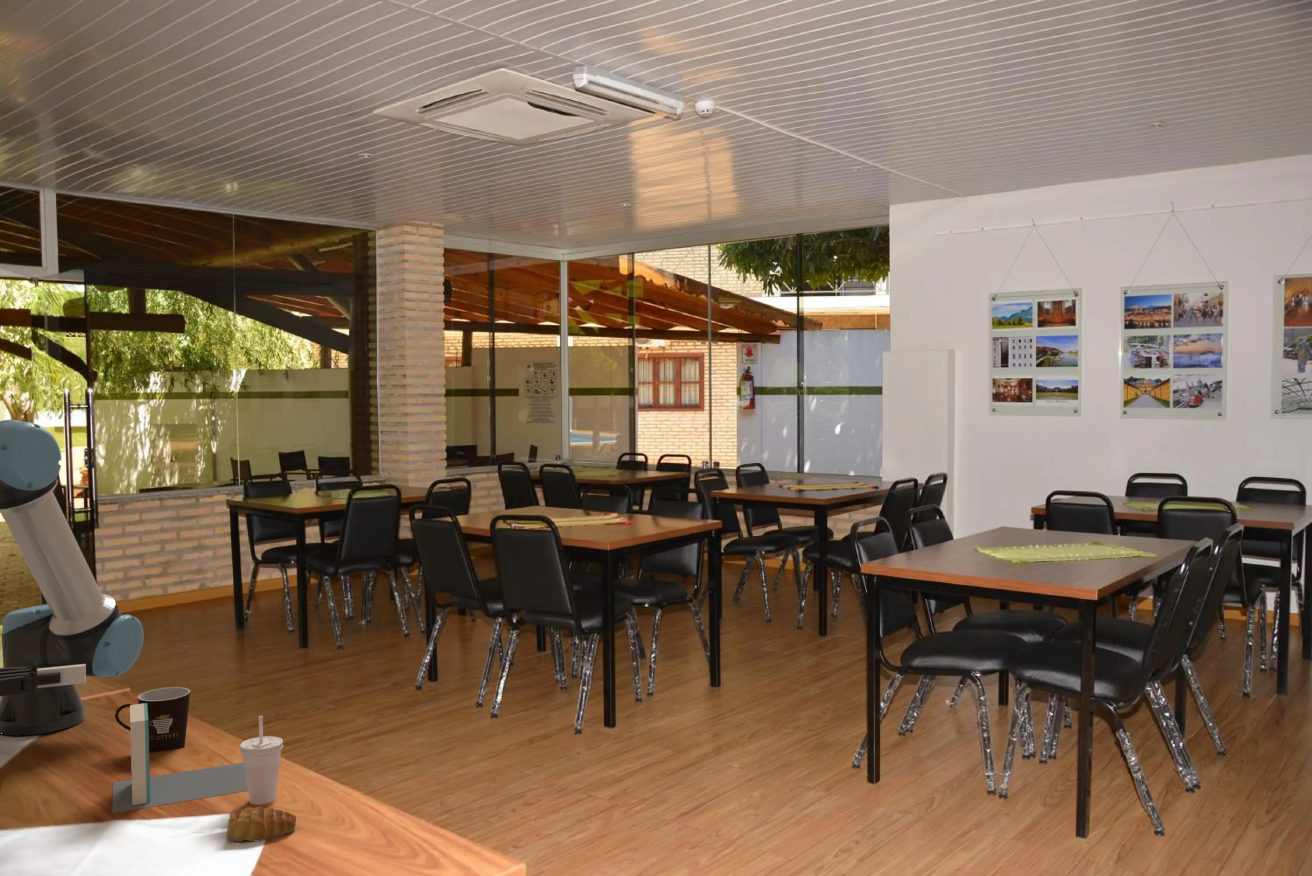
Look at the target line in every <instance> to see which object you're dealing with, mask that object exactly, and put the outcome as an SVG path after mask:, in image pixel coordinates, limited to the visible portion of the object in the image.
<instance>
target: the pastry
mask: <svg viewBox="0 0 1312 876" xmlns="http://www.w3.org/2000/svg"><path fill="white" fill-rule="evenodd" d="M296 821H297V817H296V815H294V814H292V813H291V812H288V811H286V810H285V811H283V810H281V809H275V808H274V807H273V808H272V807H271V808H269V807H263V806H262V805H259V806H257V807H251V806H246V807H244V808H243V809H239V808H238V809H237V808H236V809H235V808H234V809H232V810H231V812H230V814H229V819H228V824H227V829H226V835H225V838H227V839H228V840H230V841H232V840H233V842H234V841H240V842H239V843H242V842H243V841H249V842H256V841H255V840H259V841H261V839H265V840H268V839H267V838H270V839H274V838H275V839H276V838H280V837H283V836H284V835H286V834H287V835H288V834H290V833H292V832H293V831H294V830H295V828H296V824H297V822H296ZM279 836H280V837H279Z"/></svg>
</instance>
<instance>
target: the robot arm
mask: <svg viewBox="0 0 1312 876" xmlns="http://www.w3.org/2000/svg"><path fill="white" fill-rule="evenodd" d="M60 461H62V452H61V448H60V445H59V444H58V441H57V440H56V438H55V437H54V435H53V434H52V433H51V432H50V431H49V430H47V429H46V428H45V427H43V426H41V424H36V423H34V422H31V421H22V420H17V419H5V420H0V514H1V516H2V518H3V520H4V521H5V524H6V526H7V527H8V530H9V532H10V533H11V535H12V537H13V540H14V542H16V546H17V547H18V549H19V551H20V553H21V555H22V558H23V559H24V561H25V562H26V564H27V566H28V569H29V570H30V572H31V574H32V576H33V578H34V580H35V582H36V584H37V586H38V588H39V589H40V592H41V594H42V595H43V597H44V599H45V601H46V604H41V605H36V606H35V605H34V606H29V607H24V608H20V609H16V610H13V611H10V612H8V613H7V614H5V616H4V617H3V620H2V632H1V633H0V634H1V646H2V647H1V648H2V649H1V650H2V665H3V666H2V667H0V697H1V698H0V733H2V734H6V735H5V736H8V735H26V736H33V735H35V734H36V735H43V734H47V733H52V732H58V731H61V730H65V729H68V728H71V727H74V726H76V725H78V724H80V723H81V722H83V721H84V720H85V717H86V716H85V705H84V702H83V701H82V698H81V696H80V693H79V690H78V687H77V686H76V685H80V684H86V682H87V680H86V679H87V678H86V676H87V677H97V678H104V677H113V678H114V677H119V676H120V675H123V674H125V673H126V672H127V671H129V670H130V669H131V668H132V666H133V665H134V664H135V663H136V662H137V660H138V658H139V656H140V654H141V651H142V647H143V644H144V628H143V625H142V622H141V621H140V620H139V619H138V618H137V617H135V616H134V615H133V616H132V615H131V614H127V613H126V614H123V613H122V612H121V610H120V609H119V607H118V604H117V602H116V600H115V599H114V598H113V597H112V596H111V595H109V594H105V593H102V591H101V589H100V587H99V586H98V584H97V581H96V579H95V577H94V575H93V573H92V570H91V569H90V566H89V564H88V563H87V560H86V559H85V556H84V554H83V552H82V550H81V548H80V546H79V543H78V541H77V539H76V536H74V533H73V531H72V529H71V527H70V525H69V523H68V520H67V519H66V517H65V514H64V513H63V510H62V508H61V506H60V504H59V502H58V499H57V498H56V496H55V493H54V491H55V490H56V487H57V486H58V482H59V480H58V476H59V473H60V471H61V467H62V466H61V464H60ZM42 733H43V734H42Z"/></svg>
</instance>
